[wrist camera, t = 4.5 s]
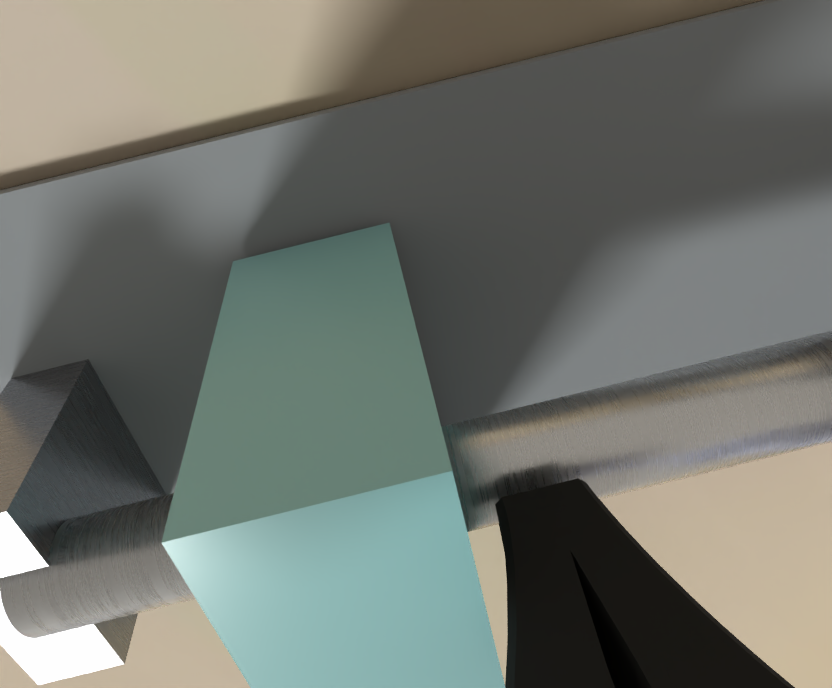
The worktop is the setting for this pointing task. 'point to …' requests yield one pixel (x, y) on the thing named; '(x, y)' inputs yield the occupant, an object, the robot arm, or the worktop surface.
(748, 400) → the pipe
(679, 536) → the worktop surface
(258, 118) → the worktop surface
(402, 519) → the teal slotted block
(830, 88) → the grey rectangular plate
